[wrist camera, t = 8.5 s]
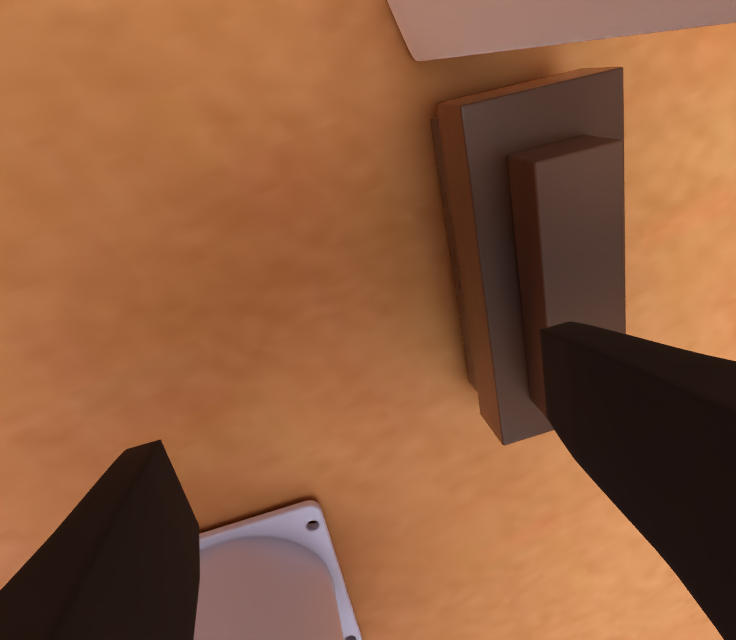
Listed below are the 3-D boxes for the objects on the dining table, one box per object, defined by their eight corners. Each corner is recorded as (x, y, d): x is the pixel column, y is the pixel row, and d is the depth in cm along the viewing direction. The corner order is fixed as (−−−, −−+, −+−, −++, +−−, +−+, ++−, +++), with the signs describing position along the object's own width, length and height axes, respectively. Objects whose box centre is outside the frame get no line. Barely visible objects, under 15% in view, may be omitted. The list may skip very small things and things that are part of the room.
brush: (572, 362, 23) (658, 434, 18) (465, 394, 22) (525, 476, 18) (556, 69, 18) (665, 64, 13) (420, 101, 17) (485, 107, 13)
